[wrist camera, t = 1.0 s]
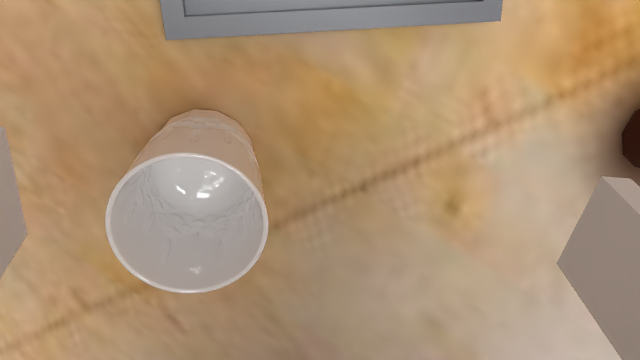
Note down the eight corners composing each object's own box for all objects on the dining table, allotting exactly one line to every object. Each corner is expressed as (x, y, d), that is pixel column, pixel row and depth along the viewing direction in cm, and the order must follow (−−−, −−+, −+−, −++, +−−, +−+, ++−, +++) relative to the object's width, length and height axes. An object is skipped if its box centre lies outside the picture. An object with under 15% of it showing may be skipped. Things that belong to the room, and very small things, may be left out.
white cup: (123, 178, 35) (78, 257, 25) (176, 76, 32) (147, 123, 23) (229, 226, 37) (222, 315, 28) (284, 135, 35) (297, 198, 26)
